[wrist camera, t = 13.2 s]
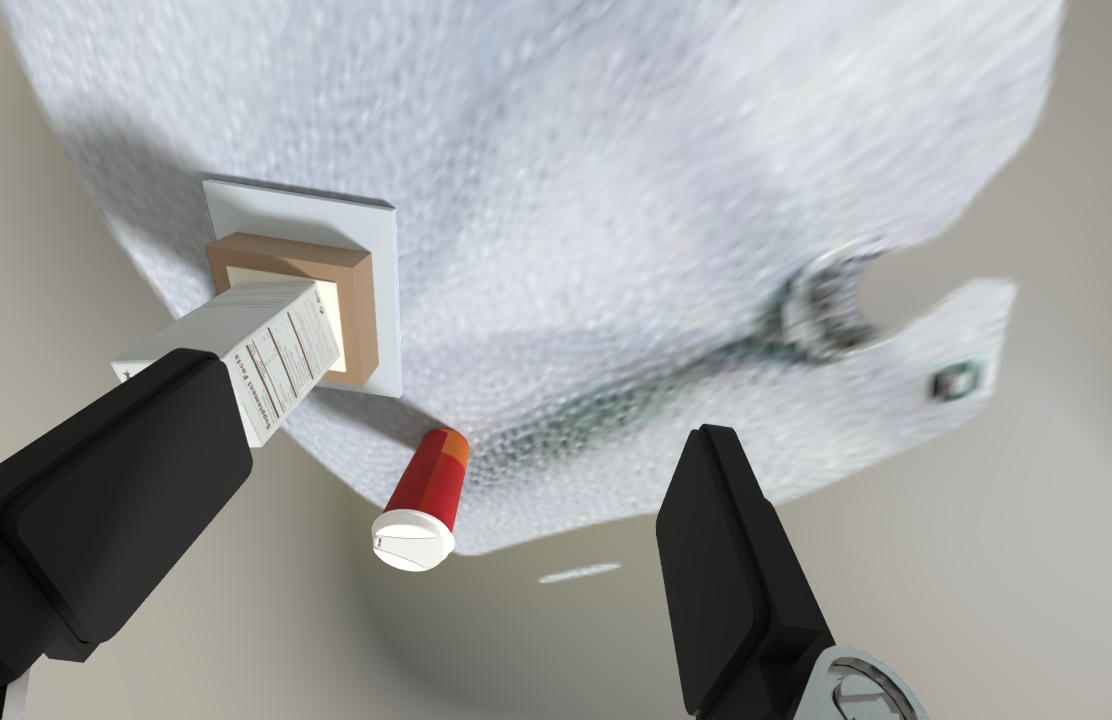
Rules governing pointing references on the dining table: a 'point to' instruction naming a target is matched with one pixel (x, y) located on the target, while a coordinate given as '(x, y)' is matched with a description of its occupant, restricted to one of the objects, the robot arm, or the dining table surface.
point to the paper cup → (424, 504)
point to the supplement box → (253, 348)
